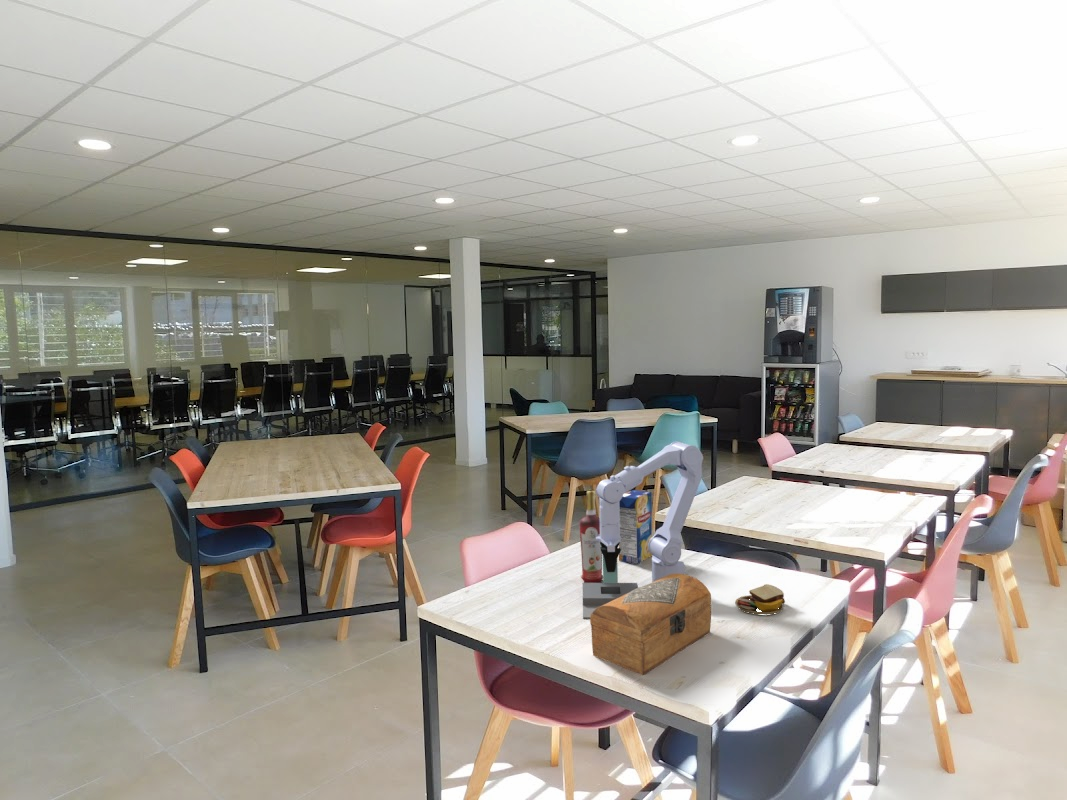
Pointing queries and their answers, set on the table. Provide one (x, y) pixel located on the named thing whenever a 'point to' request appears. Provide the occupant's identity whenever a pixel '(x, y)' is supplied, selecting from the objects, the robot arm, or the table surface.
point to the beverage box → (635, 526)
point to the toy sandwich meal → (762, 600)
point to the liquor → (591, 543)
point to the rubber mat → (588, 611)
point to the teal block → (609, 574)
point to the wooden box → (651, 622)
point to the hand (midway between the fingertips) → (610, 568)
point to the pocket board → (605, 592)
